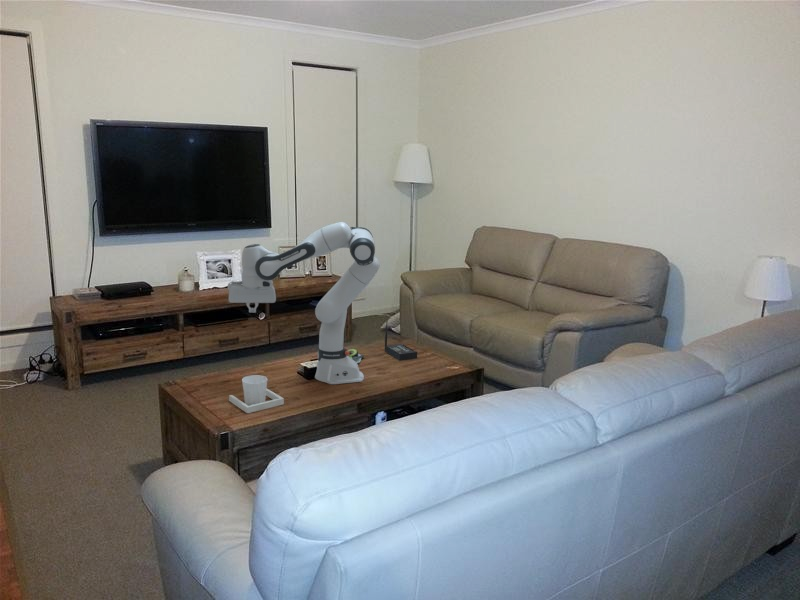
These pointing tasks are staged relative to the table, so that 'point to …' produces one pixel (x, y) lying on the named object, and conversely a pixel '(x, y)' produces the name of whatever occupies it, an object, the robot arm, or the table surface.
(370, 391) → the table surface
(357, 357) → the salad plate
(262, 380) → the cup
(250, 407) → the white u-shaped frame
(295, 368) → the table surface
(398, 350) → the wifi router
